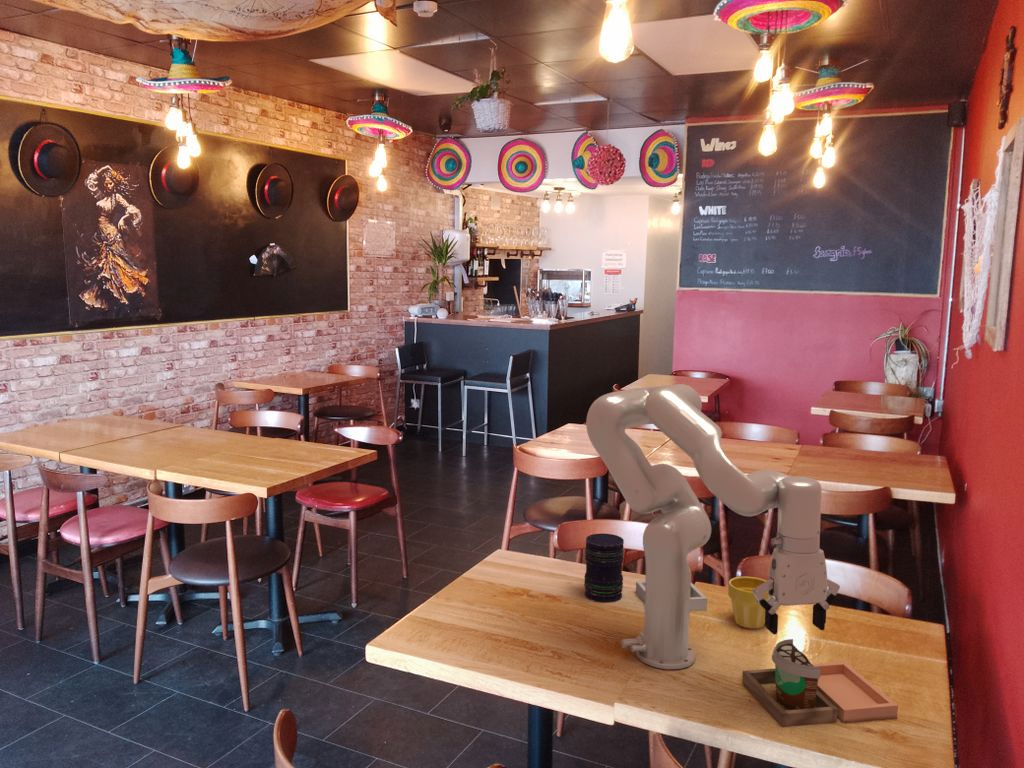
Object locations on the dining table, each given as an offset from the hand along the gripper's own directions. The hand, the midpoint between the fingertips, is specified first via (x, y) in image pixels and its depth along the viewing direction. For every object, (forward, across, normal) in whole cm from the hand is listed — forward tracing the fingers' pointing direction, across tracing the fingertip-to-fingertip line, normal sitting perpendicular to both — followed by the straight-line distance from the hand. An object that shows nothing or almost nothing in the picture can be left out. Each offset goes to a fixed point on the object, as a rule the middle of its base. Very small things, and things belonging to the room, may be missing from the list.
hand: (795, 629), depth 149 cm
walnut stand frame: (+15, -1, +1) cm, 15 cm away
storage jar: (+14, -22, +56) cm, 61 cm away
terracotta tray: (+15, +11, +1) cm, 19 cm away
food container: (+15, -1, +1) cm, 15 cm away
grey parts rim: (+14, -6, +50) cm, 52 cm away
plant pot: (+15, +8, +35) cm, 39 cm away
